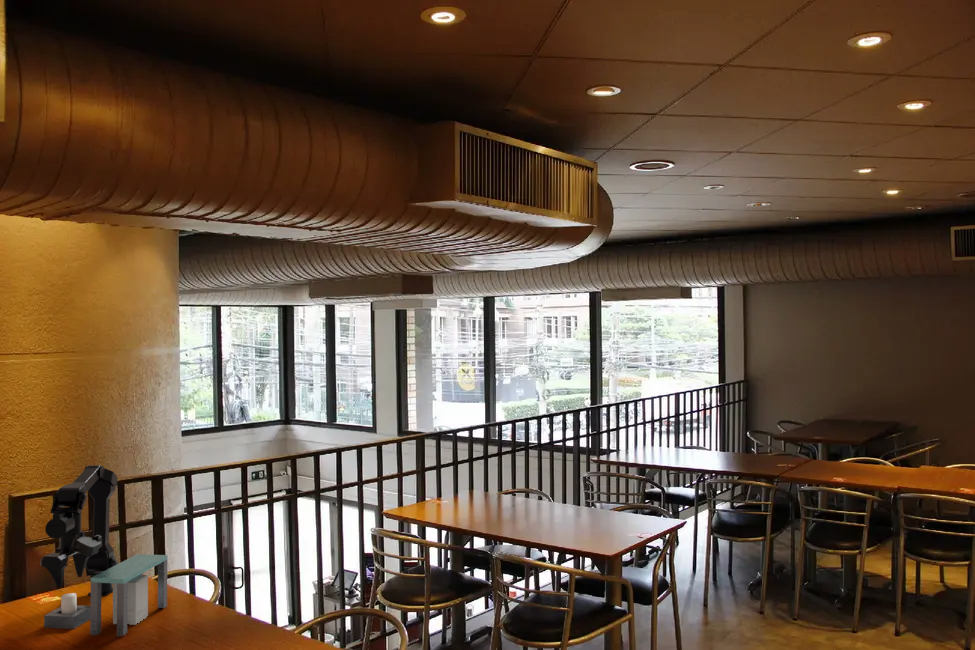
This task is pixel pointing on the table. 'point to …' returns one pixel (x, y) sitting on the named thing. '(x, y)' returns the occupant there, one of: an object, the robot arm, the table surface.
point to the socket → (67, 618)
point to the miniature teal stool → (126, 588)
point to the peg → (69, 603)
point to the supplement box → (134, 600)
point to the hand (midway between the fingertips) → (70, 581)
